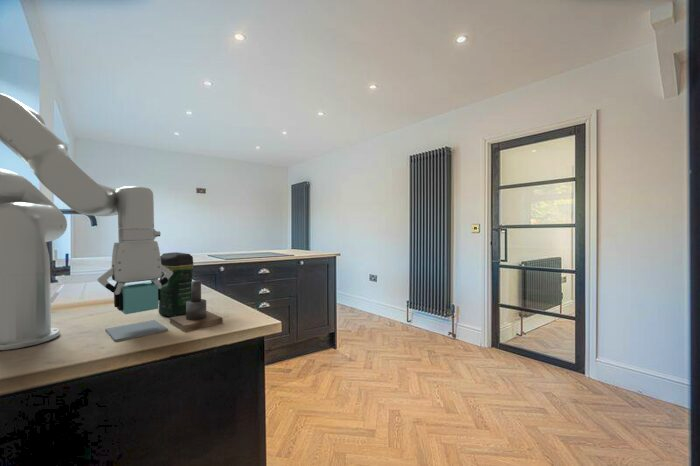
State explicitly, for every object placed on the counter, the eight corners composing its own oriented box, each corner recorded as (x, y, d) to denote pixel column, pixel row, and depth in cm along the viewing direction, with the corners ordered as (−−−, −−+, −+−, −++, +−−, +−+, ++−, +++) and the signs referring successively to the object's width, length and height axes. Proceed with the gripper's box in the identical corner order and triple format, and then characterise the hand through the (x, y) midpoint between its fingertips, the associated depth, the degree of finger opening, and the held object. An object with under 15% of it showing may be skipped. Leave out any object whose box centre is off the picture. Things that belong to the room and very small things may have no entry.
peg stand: (183, 331, 80) (183, 286, 80) (170, 323, 87) (170, 281, 87) (222, 323, 88) (222, 281, 87) (207, 315, 94) (207, 277, 94)
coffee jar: (198, 312, 98) (198, 252, 97) (172, 319, 91) (172, 254, 90) (179, 308, 102) (179, 250, 102) (154, 314, 96) (153, 252, 95)
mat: (115, 341, 73) (115, 339, 73) (105, 330, 80) (105, 328, 80) (168, 330, 81) (168, 328, 81) (154, 321, 88) (154, 319, 88)
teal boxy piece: (118, 309, 80) (117, 285, 80) (150, 304, 86) (149, 281, 85) (125, 314, 76) (124, 289, 76) (158, 308, 81) (157, 285, 81)
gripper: (169, 235, 89) (170, 298, 90) (90, 237, 76) (92, 310, 77) (179, 235, 84) (180, 302, 84) (95, 237, 71) (97, 316, 72)
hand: (138, 306), depth 81 cm, fingers closed on teal boxy piece, 7 cm apart
